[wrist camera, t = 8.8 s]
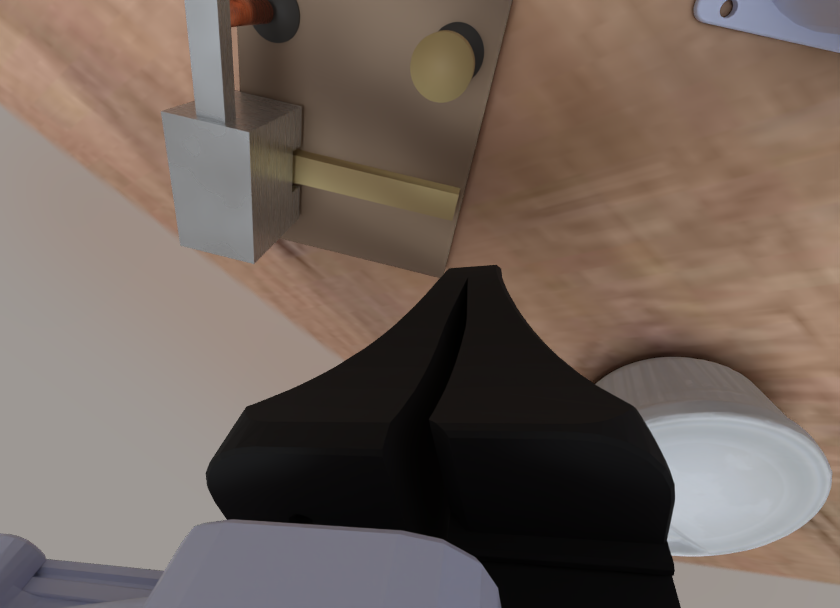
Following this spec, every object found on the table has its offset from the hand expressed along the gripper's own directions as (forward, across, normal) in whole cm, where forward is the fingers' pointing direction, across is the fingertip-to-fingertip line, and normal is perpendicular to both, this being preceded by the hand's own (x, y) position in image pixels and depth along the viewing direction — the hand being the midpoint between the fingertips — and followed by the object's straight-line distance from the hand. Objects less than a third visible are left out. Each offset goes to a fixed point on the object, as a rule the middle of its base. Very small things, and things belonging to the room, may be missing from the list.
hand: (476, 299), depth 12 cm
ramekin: (+10, -8, +15) cm, 20 cm away
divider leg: (+9, +9, -4) cm, 13 cm away
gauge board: (+10, +5, -4) cm, 12 cm away
